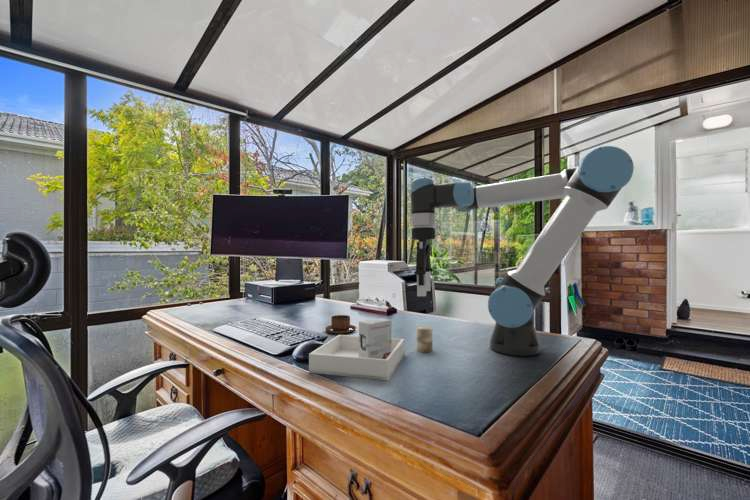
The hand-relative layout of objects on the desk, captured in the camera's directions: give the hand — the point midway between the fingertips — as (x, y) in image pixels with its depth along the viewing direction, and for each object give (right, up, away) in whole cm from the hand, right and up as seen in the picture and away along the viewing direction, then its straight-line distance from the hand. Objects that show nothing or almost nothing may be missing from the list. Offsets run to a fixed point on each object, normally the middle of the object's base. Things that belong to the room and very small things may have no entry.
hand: (424, 293), depth 114 cm
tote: (-20, -19, -12) cm, 30 cm away
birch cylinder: (0, -18, +1) cm, 18 cm away
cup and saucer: (-29, -19, +26) cm, 44 cm away
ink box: (-16, -18, -14) cm, 28 cm away
